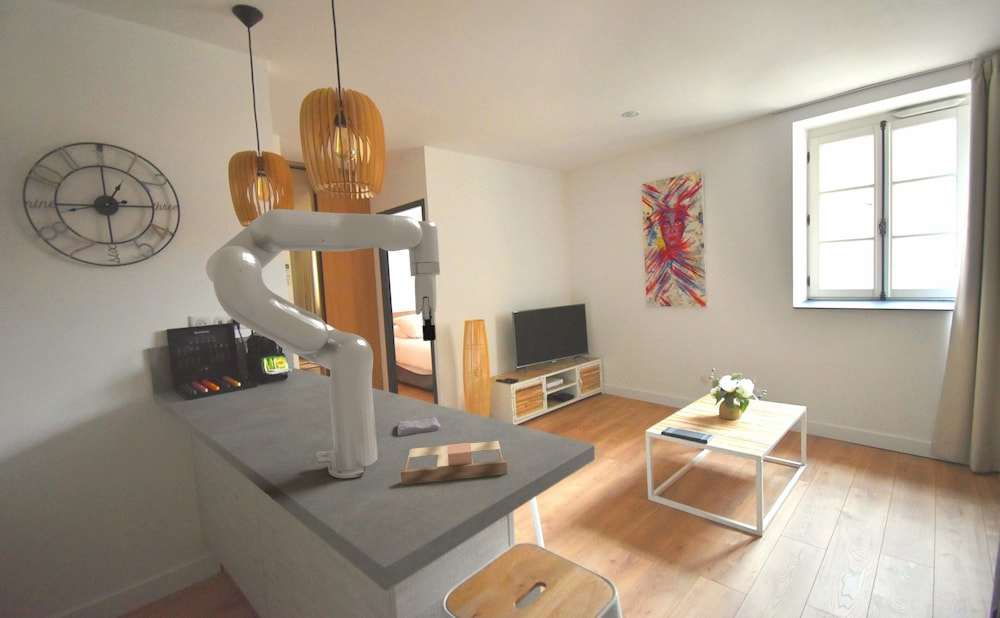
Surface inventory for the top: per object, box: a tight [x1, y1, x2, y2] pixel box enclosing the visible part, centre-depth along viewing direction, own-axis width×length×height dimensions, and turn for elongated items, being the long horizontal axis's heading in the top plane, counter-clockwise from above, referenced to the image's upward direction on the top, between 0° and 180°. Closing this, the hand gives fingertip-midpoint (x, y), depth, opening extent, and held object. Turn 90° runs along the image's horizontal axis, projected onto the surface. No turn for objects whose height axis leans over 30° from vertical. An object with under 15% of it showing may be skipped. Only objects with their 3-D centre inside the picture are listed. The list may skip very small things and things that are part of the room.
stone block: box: [396, 416, 442, 437], centre depth 122 cm, size 12×5×10 cm
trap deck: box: [400, 440, 508, 485], centre depth 99 cm, size 22×18×4 cm
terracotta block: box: [447, 442, 473, 466], centre depth 94 cm, size 5×5×5 cm
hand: (429, 340), depth 113 cm, fingers closed
